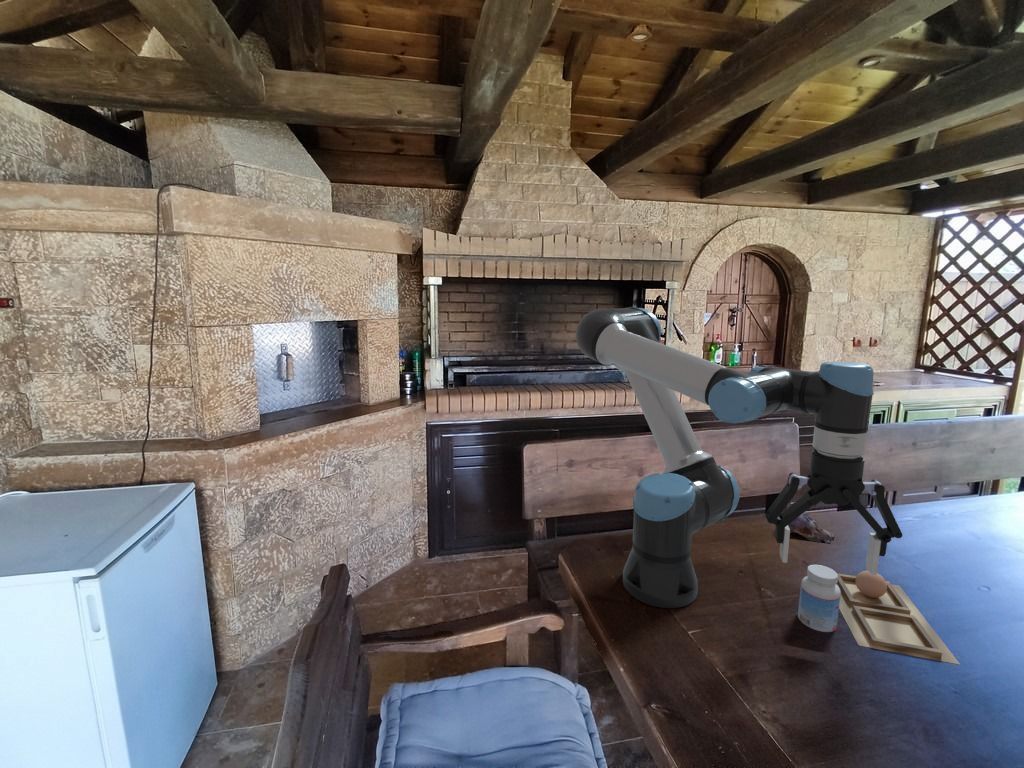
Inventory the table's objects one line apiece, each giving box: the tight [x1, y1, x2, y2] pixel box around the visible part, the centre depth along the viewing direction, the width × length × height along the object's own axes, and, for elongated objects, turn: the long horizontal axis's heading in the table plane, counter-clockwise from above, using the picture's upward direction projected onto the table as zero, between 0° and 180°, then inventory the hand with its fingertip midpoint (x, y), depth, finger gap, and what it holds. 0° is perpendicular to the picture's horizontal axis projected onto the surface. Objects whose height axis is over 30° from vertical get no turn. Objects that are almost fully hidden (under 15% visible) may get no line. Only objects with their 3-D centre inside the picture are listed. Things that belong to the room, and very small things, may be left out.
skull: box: [783, 507, 836, 544], centre depth 118 cm, size 12×8×6 cm, turn 29°
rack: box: [836, 572, 961, 666], centre depth 88 cm, size 14×22×2 cm, turn 161°
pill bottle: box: [797, 564, 841, 633], centre depth 86 cm, size 6×6×11 cm
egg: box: [855, 569, 887, 598], centre depth 93 cm, size 5×5×5 cm
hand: (825, 564), depth 84 cm, fingers open, 13 cm apart
